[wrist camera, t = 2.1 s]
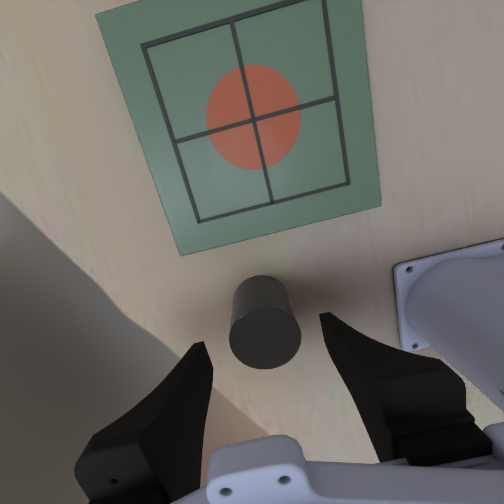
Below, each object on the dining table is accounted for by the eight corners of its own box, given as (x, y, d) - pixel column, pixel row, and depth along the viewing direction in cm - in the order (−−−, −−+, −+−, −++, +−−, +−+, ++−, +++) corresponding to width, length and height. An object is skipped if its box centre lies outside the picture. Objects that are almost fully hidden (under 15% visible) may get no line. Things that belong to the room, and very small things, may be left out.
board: (343, -43, 14) (355, -70, 12) (371, 203, 18) (383, 206, 16) (109, 30, 14) (92, 12, 13) (185, 250, 18) (179, 257, 17)
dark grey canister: (281, 269, 19) (293, 300, 14) (293, 318, 20) (307, 361, 15) (227, 282, 19) (220, 317, 14) (241, 330, 20) (239, 376, 16)
